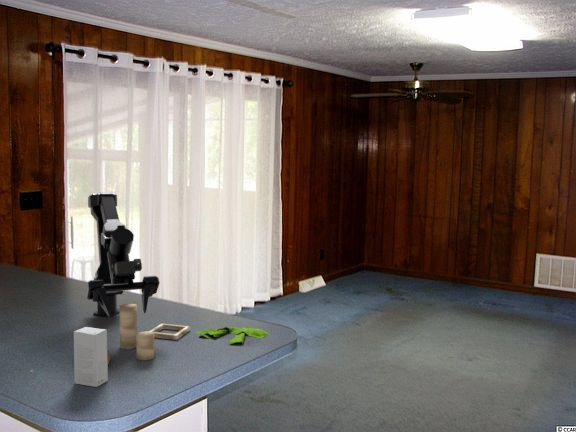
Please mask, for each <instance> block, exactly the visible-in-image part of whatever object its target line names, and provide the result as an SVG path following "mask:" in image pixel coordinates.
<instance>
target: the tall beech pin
mask: <svg viewBox="0 0 576 432" xmlns="http://www.w3.org/2000/svg"><path fill="white" fill-rule="evenodd" d="M119 309H120V312H119V348H120V349H121V350H132V349H135V348H136V349H137V345H136V334H137V333H138V306H137V304H136V303H123V304H121V305H119Z"/></svg>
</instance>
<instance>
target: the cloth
mask: <svg viewBox="0 0 576 432" xmlns="http://www.w3.org/2000/svg"><path fill="white" fill-rule="evenodd" d="M228 333H229V334H232V335H233V334H234V335H235V336H234V337H233V338H232V339H230V340H229V341H228V343H227V345H228V346H231V345H232V344H233V345H236V346H237V345H240V346H241V345H242V346H243V345H244V341H245V336H246V335H247V336H248V337H251V338H256V339H263V338H266V337H265V336H269V335H270V333H268V332H267V331H265V330H263V329H260V328H255V327H235V326H234V327H233V326H225V327H220V328H219V327H217V328H213V329H212V328H211V329H209V328H208V329H203V330H199V331H195V332H194V334H199V336H198V339H200V338H206V339H208V340H215V339H217V338H220V337H221V336H224V335H227V334H228Z"/></svg>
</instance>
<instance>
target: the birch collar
mask: <svg viewBox="0 0 576 432" xmlns="http://www.w3.org/2000/svg"><path fill="white" fill-rule="evenodd" d="M162 330H172V331H177V332H176V333H167V332H161V331H162ZM190 331H191V326H189V325H179V324H171V323H170V324H169V323H160V324H159V325H157V326H155V327H154V328H152V329H150V330H149V332H153V333H154V339H155V338H157V339H164V340H165V339H166V340H176V341H178V340H179V339H180V338H181V337H183V336H185V334H187V333H188V332H190Z"/></svg>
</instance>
